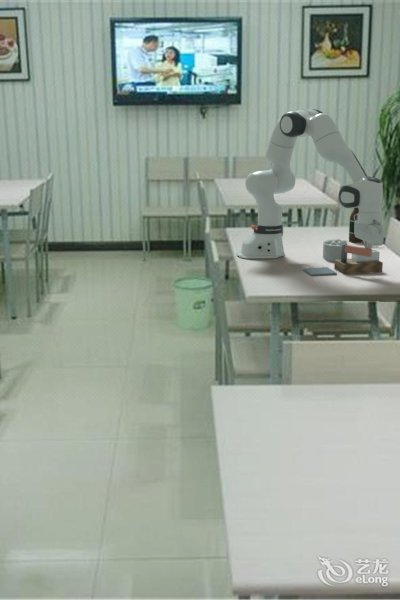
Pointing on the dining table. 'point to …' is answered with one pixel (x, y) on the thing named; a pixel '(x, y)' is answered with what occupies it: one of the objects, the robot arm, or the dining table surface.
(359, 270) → the body
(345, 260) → the cam lever
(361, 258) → the grey-blue rectangular block
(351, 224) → the beer bottle
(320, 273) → the pad
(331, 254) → the paw pad
